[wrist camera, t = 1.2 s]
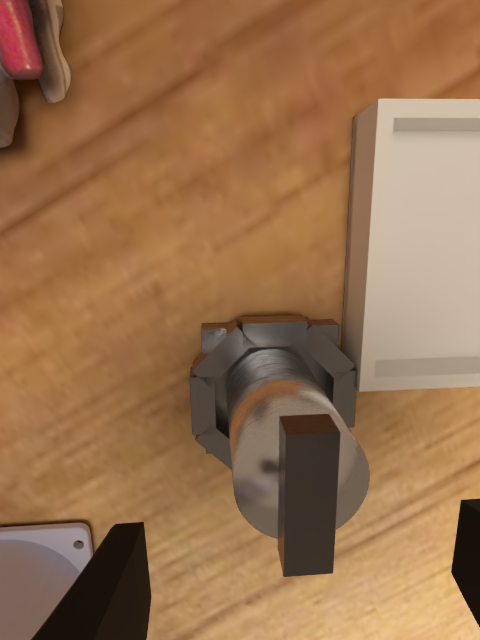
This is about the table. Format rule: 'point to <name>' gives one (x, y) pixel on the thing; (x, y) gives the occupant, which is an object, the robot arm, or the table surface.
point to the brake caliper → (30, 56)
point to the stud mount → (252, 336)
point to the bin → (414, 245)
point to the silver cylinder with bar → (292, 459)
